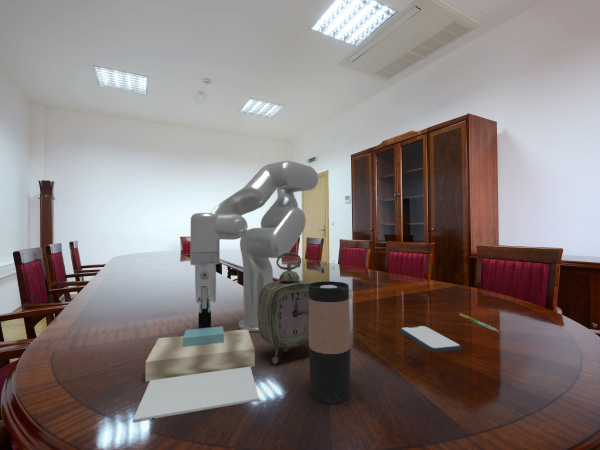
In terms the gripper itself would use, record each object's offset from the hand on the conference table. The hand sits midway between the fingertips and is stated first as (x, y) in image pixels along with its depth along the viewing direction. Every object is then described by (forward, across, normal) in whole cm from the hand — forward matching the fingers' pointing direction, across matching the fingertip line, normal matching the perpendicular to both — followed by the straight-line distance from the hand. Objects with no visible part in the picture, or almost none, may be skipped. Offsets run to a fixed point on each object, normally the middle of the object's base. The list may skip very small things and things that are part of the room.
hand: (204, 326), depth 78 cm
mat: (+5, -24, 0) cm, 24 cm away
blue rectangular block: (+1, -8, 0) cm, 8 cm away
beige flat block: (+5, -10, 0) cm, 11 cm away
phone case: (+5, -15, -59) cm, 61 cm away
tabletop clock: (+5, -13, -20) cm, 24 cm away
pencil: (+5, -8, -84) cm, 85 cm away
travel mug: (+5, -32, -23) cm, 40 cm away
